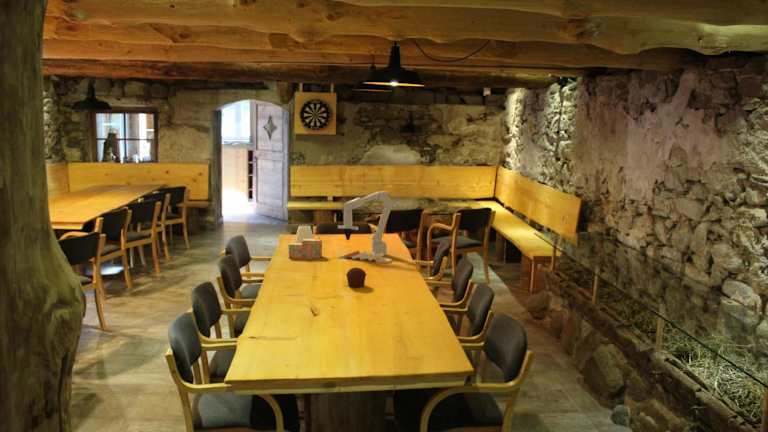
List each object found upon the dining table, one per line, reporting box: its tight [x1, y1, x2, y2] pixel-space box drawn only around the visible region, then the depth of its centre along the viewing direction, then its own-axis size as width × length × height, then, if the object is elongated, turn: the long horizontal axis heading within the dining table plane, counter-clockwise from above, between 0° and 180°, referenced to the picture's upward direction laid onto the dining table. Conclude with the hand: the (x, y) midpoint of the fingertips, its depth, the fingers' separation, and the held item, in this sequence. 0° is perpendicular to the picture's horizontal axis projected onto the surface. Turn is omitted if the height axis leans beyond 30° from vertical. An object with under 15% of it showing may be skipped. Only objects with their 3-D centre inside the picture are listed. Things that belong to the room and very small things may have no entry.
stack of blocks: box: [288, 238, 323, 260], centre depth 404 cm, size 21×6×12 cm, turn 86°
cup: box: [294, 225, 315, 243], centre depth 440 cm, size 13×13×14 cm
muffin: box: [345, 267, 367, 289], centre depth 338 cm, size 12×11×10 cm
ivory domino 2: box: [359, 252, 375, 260], centre depth 396 cm, size 2×5×9 cm
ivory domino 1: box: [352, 250, 368, 259], centre depth 398 cm, size 2×5×9 cm
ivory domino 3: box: [368, 252, 385, 261], centre depth 394 cm, size 2×5×9 cm
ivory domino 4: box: [375, 256, 393, 264], centre depth 392 cm, size 2×5×9 cm
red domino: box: [343, 250, 361, 258], centre depth 400 cm, size 2×5×9 cm
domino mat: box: [337, 255, 377, 263], centre depth 399 cm, size 28×8×1 cm, turn 67°
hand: (348, 239), depth 412 cm, fingers closed
